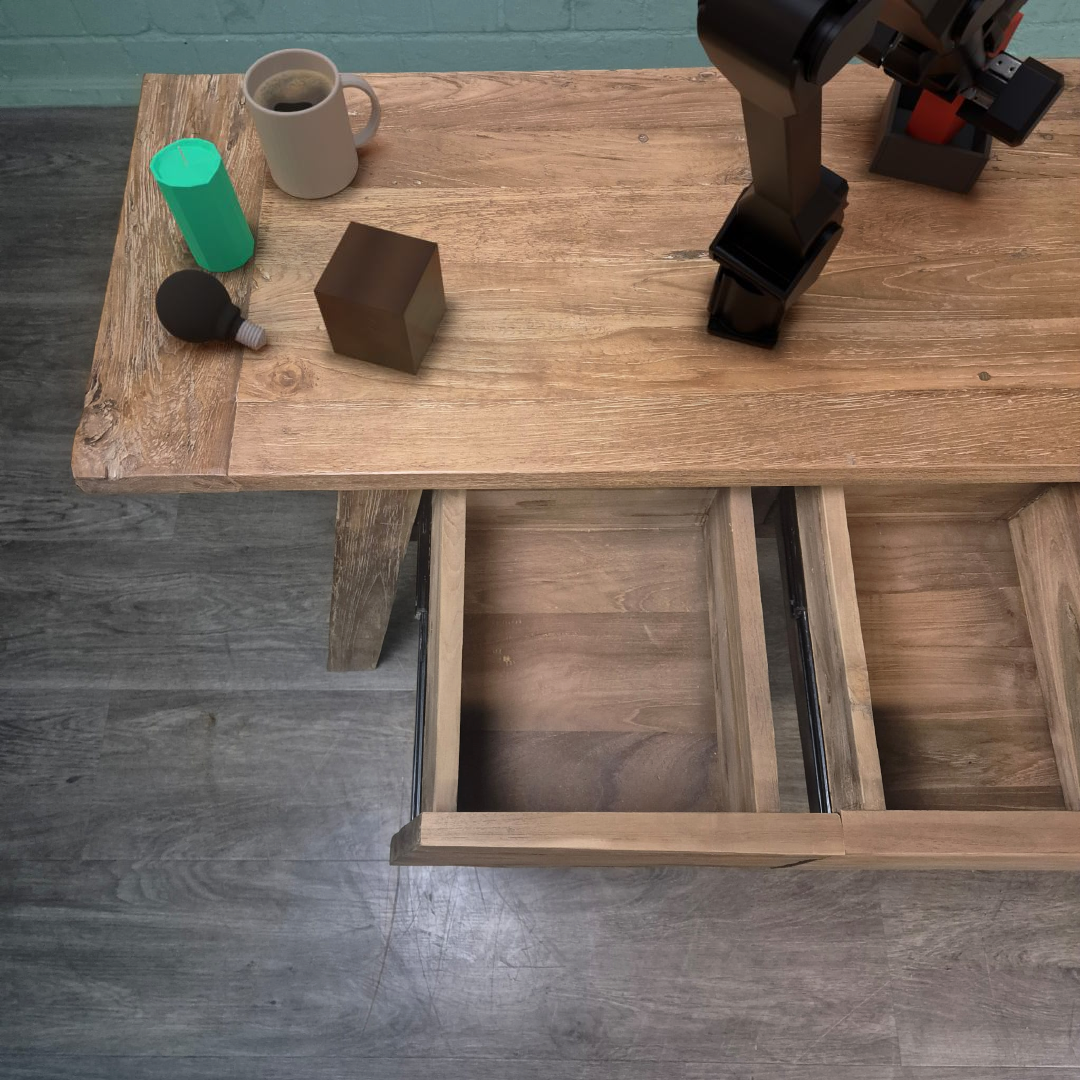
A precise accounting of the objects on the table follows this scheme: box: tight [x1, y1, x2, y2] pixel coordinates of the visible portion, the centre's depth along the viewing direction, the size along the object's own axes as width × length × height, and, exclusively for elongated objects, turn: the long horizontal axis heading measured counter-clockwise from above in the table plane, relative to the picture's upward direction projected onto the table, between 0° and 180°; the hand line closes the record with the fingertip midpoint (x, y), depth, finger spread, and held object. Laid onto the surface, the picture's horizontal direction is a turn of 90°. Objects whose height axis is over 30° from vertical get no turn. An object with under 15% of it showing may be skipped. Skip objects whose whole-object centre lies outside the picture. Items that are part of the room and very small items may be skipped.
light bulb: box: [154, 268, 267, 351], centre depth 79 cm, size 6×6×10 cm
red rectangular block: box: [904, 10, 1025, 145], centre depth 85 cm, size 5×4×12 cm
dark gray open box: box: [868, 79, 993, 196], centre depth 90 cm, size 10×10×4 cm
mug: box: [242, 48, 382, 200], centre depth 86 cm, size 11×10×10 cm
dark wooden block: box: [313, 220, 447, 376], centre depth 78 cm, size 8×8×8 cm
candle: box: [149, 137, 256, 273], centre depth 80 cm, size 6×6×12 cm
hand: (958, 88), depth 87 cm, fingers closed on red rectangular block, 4 cm apart
